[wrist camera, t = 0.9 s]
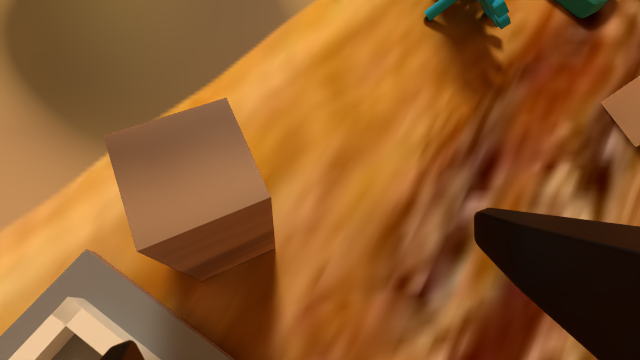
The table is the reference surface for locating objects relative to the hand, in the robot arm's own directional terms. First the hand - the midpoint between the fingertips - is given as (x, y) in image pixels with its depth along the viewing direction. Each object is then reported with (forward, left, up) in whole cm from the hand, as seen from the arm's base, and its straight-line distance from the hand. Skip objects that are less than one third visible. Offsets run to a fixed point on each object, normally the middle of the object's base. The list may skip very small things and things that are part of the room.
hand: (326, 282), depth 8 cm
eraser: (+1, -33, -14) cm, 35 cm away
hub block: (+6, +2, -14) cm, 15 cm away
